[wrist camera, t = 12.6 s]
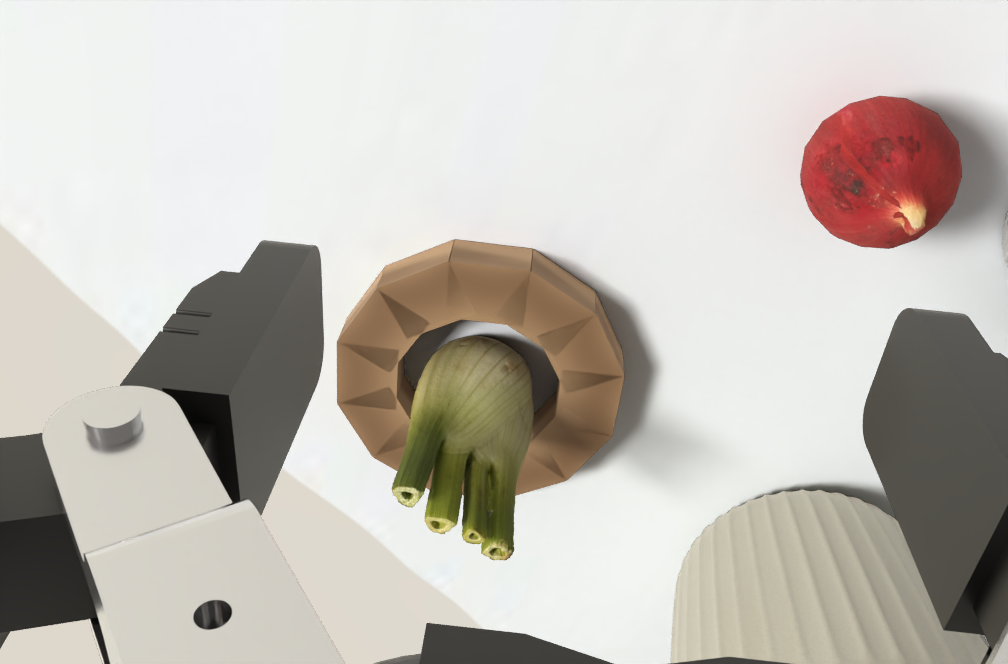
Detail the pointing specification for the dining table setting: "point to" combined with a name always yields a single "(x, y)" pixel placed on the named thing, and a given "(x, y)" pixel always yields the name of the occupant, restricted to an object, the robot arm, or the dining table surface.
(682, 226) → the dining table surface
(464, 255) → the walnut ring
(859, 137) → the onion
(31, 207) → the dining table surface
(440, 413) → the fennel bulb
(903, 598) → the canister
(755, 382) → the dining table surface
